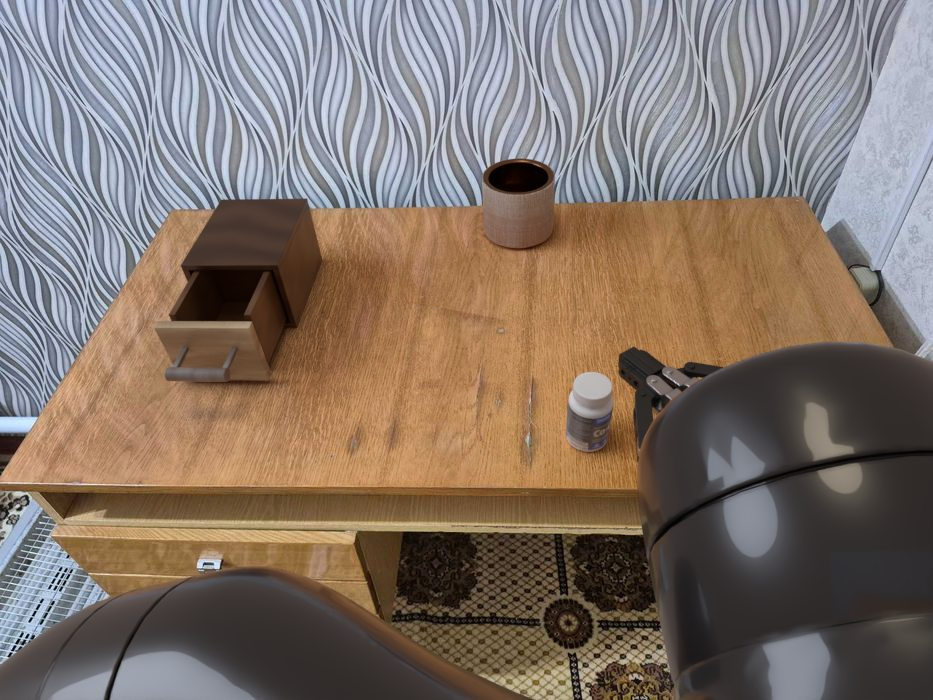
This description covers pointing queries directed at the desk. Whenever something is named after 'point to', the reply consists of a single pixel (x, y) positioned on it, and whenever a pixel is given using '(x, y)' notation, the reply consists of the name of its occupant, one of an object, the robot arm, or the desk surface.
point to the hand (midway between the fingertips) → (624, 357)
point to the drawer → (224, 326)
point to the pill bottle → (589, 412)
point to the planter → (518, 202)
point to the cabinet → (262, 246)
